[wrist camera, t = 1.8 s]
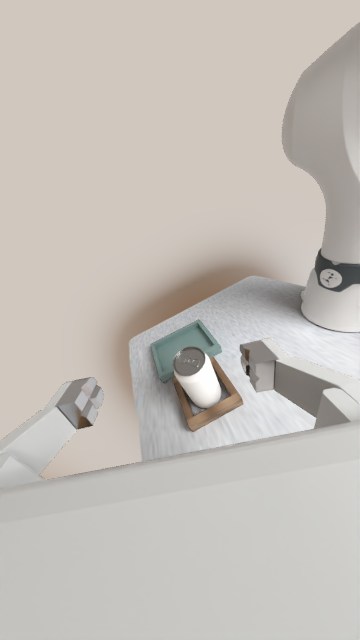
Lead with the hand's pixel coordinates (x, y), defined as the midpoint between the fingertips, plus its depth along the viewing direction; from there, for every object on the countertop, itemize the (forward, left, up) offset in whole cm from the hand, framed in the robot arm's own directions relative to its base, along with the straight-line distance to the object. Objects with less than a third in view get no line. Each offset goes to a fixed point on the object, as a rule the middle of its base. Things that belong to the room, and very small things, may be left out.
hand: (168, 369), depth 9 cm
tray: (-1, -24, -26) cm, 35 cm away
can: (-1, -11, -26) cm, 28 cm away
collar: (-1, -11, -26) cm, 28 cm away
